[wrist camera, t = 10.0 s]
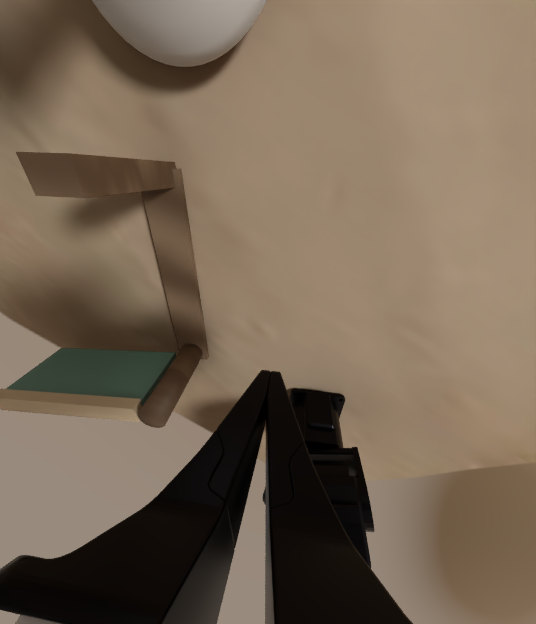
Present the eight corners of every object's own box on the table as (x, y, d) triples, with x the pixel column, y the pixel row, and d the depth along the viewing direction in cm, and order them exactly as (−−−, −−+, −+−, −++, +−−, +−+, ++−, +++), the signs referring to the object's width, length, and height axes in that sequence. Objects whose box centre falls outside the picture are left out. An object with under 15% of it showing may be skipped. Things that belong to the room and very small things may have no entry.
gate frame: (208, 357, 27) (172, 430, 19) (183, 354, 27) (137, 424, 20) (180, 162, 17) (77, 153, 9) (139, 161, 17) (7, 151, 9)
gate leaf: (174, 350, 25) (132, 408, 19) (178, 362, 26) (140, 421, 20) (60, 346, 27) (-12, 397, 21) (68, 357, 28) (1, 409, 22)
